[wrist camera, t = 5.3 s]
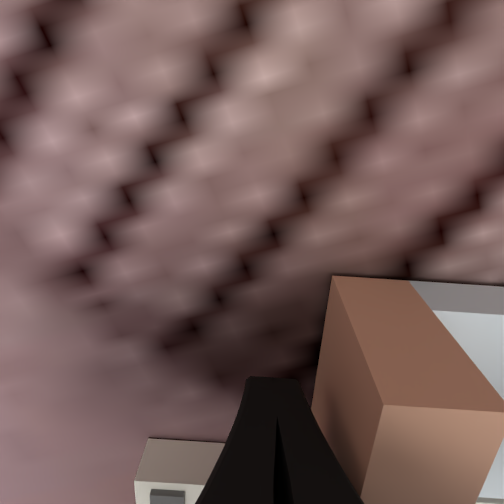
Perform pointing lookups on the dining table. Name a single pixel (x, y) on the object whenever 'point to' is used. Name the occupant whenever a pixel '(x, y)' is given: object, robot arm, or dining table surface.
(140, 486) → the cream flat rectangular block
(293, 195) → the dining table surface
